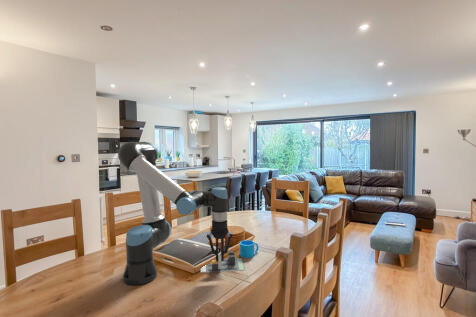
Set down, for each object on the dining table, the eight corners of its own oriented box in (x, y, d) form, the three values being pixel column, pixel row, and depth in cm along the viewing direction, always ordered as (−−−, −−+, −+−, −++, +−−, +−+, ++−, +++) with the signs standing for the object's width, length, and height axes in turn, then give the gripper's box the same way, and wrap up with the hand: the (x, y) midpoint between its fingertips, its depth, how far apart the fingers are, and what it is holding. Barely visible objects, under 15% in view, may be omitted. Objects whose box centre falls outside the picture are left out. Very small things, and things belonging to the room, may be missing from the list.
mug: (245, 261, 141) (245, 246, 141) (236, 256, 148) (236, 242, 147) (262, 256, 148) (262, 242, 147) (253, 251, 155) (253, 237, 154)
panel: (199, 275, 126) (199, 272, 126) (200, 262, 140) (200, 259, 140) (245, 273, 128) (245, 270, 128) (242, 260, 142) (242, 257, 142)
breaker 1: (228, 260, 138) (228, 253, 138) (228, 258, 141) (228, 251, 140) (234, 260, 139) (234, 252, 138) (233, 258, 141) (233, 250, 141)
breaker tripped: (212, 270, 127) (212, 262, 127) (212, 268, 130) (212, 260, 130) (218, 270, 128) (218, 262, 127) (218, 268, 130) (218, 259, 130)
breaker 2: (229, 265, 133) (229, 257, 133) (228, 262, 136) (228, 255, 135) (235, 264, 134) (235, 256, 133) (234, 262, 136) (234, 254, 136)
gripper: (205, 222, 123) (206, 271, 125) (233, 221, 125) (233, 270, 126) (206, 217, 131) (206, 264, 132) (232, 217, 132) (232, 263, 133)
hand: (219, 267), depth 129 cm, fingers closed
